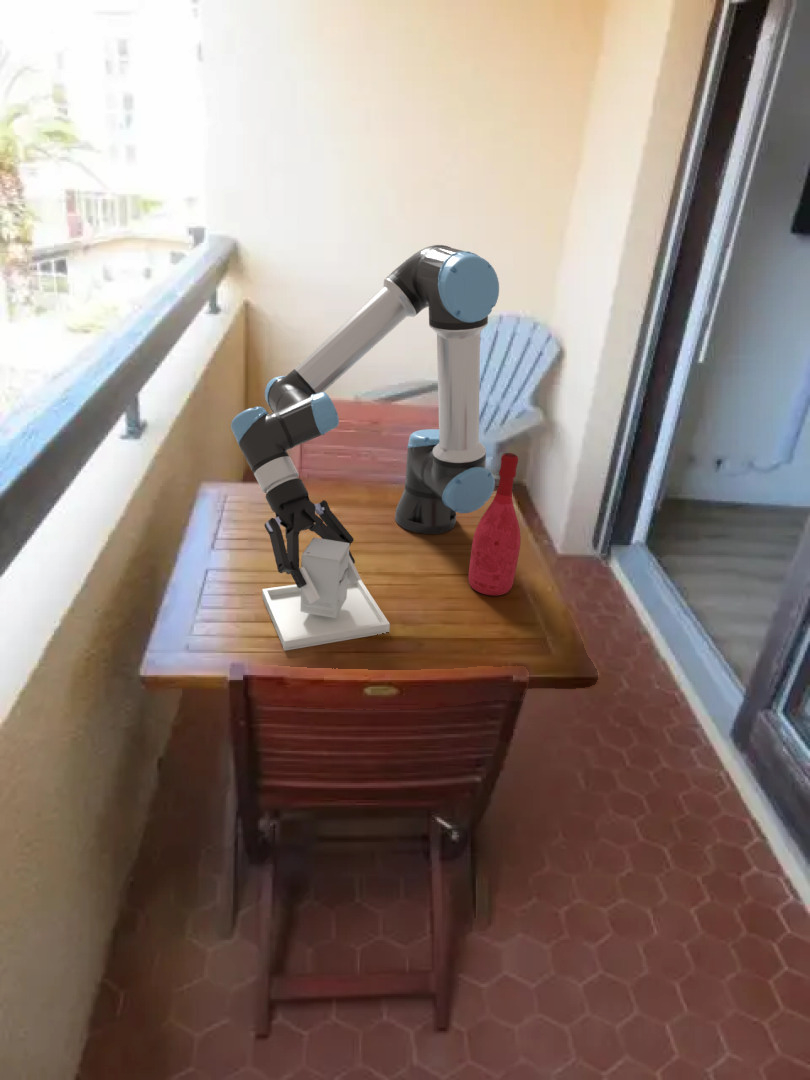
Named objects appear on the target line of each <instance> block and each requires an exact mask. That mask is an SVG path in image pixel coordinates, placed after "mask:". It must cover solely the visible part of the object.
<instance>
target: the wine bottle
mask: <svg viewBox="0 0 810 1080" xmlns="http://www.w3.org/2000/svg"><path fill="white" fill-rule="evenodd" d="M518 462H519V456H517V454H515V453H513V452H506V453H503V454H502V456H501V459H500V468H499V472H498V476H499V477H500V478H499V480H498V481H499V482H498V486H497V489H496V493H495V496H494V498H493V499H492V502H491V503H490V504H489V506H488V508H486V510H485V512H484V513H483V514H482V516H481V518H480V520H479V522H478V523H477V526H476V528H475V531H474V534H473V538H472V544H471V551H470V557H469V565H468V566H469V569H468V583H469V586H470V587H471V588H472V589H473V590H474V591H476V592H477V593H480V594H482V595H485V596H501V595H505V594H507V593H509V592H510V590H511V589H512V588H513V585H514V580H515V576H516V572H517V566H518V562H519V555H520V550H521V530H520V525H519V524H520V523H519V521H518V516H517V514H516V509H515V507H514V502H513V500H514V499H513V485H514V479H515V478H516V475H517V467H518Z"/></svg>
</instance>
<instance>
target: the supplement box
mask: <svg viewBox="0 0 810 1080" xmlns="http://www.w3.org/2000/svg"><path fill="white" fill-rule="evenodd" d="M349 545H350V543H346V542H340V541H334V540H327V539H322V538H321V537H313V538H312V539H311V540H310V542H309V544H308V545H307V546H306V548H305V549H304V551H303V552H302V553H301V566H300V568H301V567H303V566H304V567H305V569H306V571H307V573H308V575H309V577H310V579H311V581H312V583H313V585H314V587H315V589H316V591H317V593H318V595H319V597H320V599H318V600H316V601H315V602H313V603H311V604H310V603H309V601H308V599H307V598H306V596H305V594H304V592H303V590H302V588H301V610H300V611H301V612H305V613H310V614H315V615H320V616H326V617H331V618H337V616H338V614H339V611H340V609H341V607H342V606H343V604H344V602H345V600H346V599H347V583H348V565H349V550H350V546H351V545H350V546H349Z"/></svg>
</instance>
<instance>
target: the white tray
mask: <svg viewBox="0 0 810 1080" xmlns="http://www.w3.org/2000/svg"><path fill="white" fill-rule="evenodd" d="M261 590H262V591H261V593H262V594H261V595H262V601H263V602H264V605H265V608H266V610H267V612H268V614H269V617H270V619H271V622H272V624H273V626H274V628H275V631H276V634H277V636H278V638H279V641H280V643H281V645H282V648H283V650H284V651H290V650H295V649H302V648H307V647H308V648H309V647H314V646H319V645H325V644H330V643H337V642H343V641H348V640H353V639H359V638H366V637H371V636H376V635H377V634H378V635H383V634H382V633H384V634H387V633H386V632H389V633H390V627H391V625H390V622H389V620H388V619H387V617H386V616H385V614H384V613H383V611H382V610H381V608H380V607H379V605H378V604H377V602H376V600H375V599H374V597H373V596H372V595H371V593H370V592H369V590H368V588H367V586H366V585H365V583H364V582H363V581H362V578H361V579H360V580H359V581H357V582H356V583H354V584H352V585H351V583H350V582H349V580H348V583H347V599H346V600H345V602H344V604H343V606H342V607H341V609H340V611H339V614H338V616H337V618H331V617H326V616H320V615H315V614H310V613H305V612H301V611H300V610H301V588H298V587H297V585H296V583H295V584H290V585H289V584H288V585H284V586H274V587H269V588H268V587H267V588H262V589H261Z"/></svg>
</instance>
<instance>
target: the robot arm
mask: <svg viewBox="0 0 810 1080" xmlns="http://www.w3.org/2000/svg"><path fill="white" fill-rule="evenodd" d="M499 295H500V282H499V277H498V275H497V272H496V271H495V269H494V267H493V266H492V264H491V263H490V262H489V261H488V260H487V259H486V258H483V257H481V256H479V255H478V254H476V253H474V252H472V251H465V250H461V249H456V248H452V247H450V246H449V245H444V244H433V245H430V246H427V247H424V248H422V249H420V250H419V251H417V252H415V253H413V254H412V255H410V256H409V258H407V259H406V260H404V261H403V262H402V263H401V264H400V265H398V266H397V267H396V268H395V269H394V270H393V271H392V272H391V273H389V275H387V276H386V277H385V278H384V280H383V287H382V288H381V289H380V290H379V291H378V292H376V293H375V295H373V296H372V297H371V298H370V299H368V301H366V302H365V303H364V304H363V305H362V306H361V307H360V308H359V309H358V310H356V312H355V313H354V314H352V316H350V317H349V318H348V319H346V321H345V322H344V323H343V324H342V325H340V326H339V328H337V329H336V330H335V331H334V332H333V333H331V335H330V336H328V337H327V338H326V339H325V340H324V341H323V342H322V343H321V344H320V345H318V347H316V349H315V350H313V352H311V353H310V354H309V355H308V356H306V357H305V359H303V360H302V361H301V362H300V363H299V364H298V365H297V366H296V367H295V368H294V369H293V370H292V371H290V372H289V373H288V374H287V375H280V376H275V377H274V378H271V380H270V381H269V382H267V385H266V386H265V389H264V398H265V402H266V403H267V405H268V407H269V409H270V410H271V412H270V413H269V412H268V411H267V410H266V409H265V408H264V407H262V406H255V407H249V408H247V409H244V410H243V411H241V412H239V413H238V414H237V415H236V416H234V418H233V419H232V420H231V423H230V428H231V431H232V433H233V436H234V438H235V440H236V443H237V445H238V447H239V449H240V450H241V452H242V454H243V456H244V459H245V460H246V462H247V464H248V465H249V467H250V469H251V471H252V473H253V476H254V477H255V479H256V481H257V483H258V485H259V487H260V489H261V491H262V492H263V493H264V494H265V499H266V501H267V503H268V505H269V506H270V509H271V511H272V512H273V513H275V517H271V518H270V519H269V520H267V521H266V522H265V523H264V524H263V525H264V528H265V530H266V532H267V533H268V535H269V539H270V543H271V547H272V551H273V555H274V560H275V563H276V568H277V572H278V573H280V574H283V573H285V574H286V575H291V577H292V579H293V581H294V583H295V584H296V585H297V587H298V588H302V590H303V592H304V594H305V596H306V598H307V599H308V601H309V603H310V604H311V603H313V602H315V601H316V600H318V599H320V597H319V595H318V593H317V591H316V589H315V587H314V585H313V583H312V581H311V579H310V577H309V575H308V573H307V571H306V569H305V567H304V566H303V567H301V566H300V539H299V538H300V537H299V535H300V532H302V531H307V530H308V531H310V532H313V533H315V534H316V535H317V536H318V537H319V538H321V539H327V540H334V541H340V542H346V543H350V545H349V547H351V544H352V543H353V542H354V537H353V536H352V535H351V533H350V532H349V531H348V530H347V528H346V527H345V526H344V525H343V524H342V522H341V521H340V520H339V519H338V518H337V516H336V515H335V514H334V513H333V511H332V510H331V508H330V506H329V503H328V501H326V499H324V500H323V499H322V501H320V502H319V503H318V502H317V503H314V502H312V501H311V499H310V496H309V491H308V490H307V487H306V486H305V484H304V482H303V480H302V479H301V478H300V477H299V475H300V474H299V472H298V470H297V468H296V466H295V465H294V462H293V460H292V459H291V457H290V455H289V453H288V452H287V451H288V450H291V449H293V448H295V447H297V446H299V445H302V444H305V443H306V442H309V441H311V440H313V439H316V438H318V437H321V436H324V435H325V434H326V433H329V432H330V431H331V430H334V429H336V428H337V427H338V426H339V423H340V417H339V414H338V411H337V408H336V406H335V404H334V401H332V398H331V397H330V396H329V395H328V394H327V392H325V391H326V390H327V389H329V388H330V387H331V386H332V385H333V384H334V383H335V382H337V381H338V380H339V379H340V378H341V377H342V376H343V375H344V374H345V373H346V372H348V370H349V369H351V368H352V367H353V366H355V364H356V363H358V362H359V361H360V360H361V359H362V358H363V357H364V356H365V355H366V354H367V353H368V352H370V351H371V349H373V348H374V347H375V346H376V345H378V344H379V343H380V342H381V341H382V340H383V339H384V338H385V337H387V336H388V334H390V333H391V332H392V331H393V330H394V329H395V328H396V327H397V326H399V324H401V322H403V321H404V320H405V319H406V318H407V317H413V318H414V317H416V316H417V315H418V314H419V313H420V312H421V311H422V310H424V309H426V308H428V325H429V327H430V328H431V330H432V331H434V332H435V333H436V343H437V344H436V349H437V350H436V351H437V355H436V356H437V392H438V396H437V397H438V399H437V400H438V403H437V404H438V428H437V429H436V428H433V429H432V428H430V429H429V428H428V429H420V430H416V431H413V432H412V433H411V434H410V435H409V438H408V444H407V447H406V448H407V454H406V455H407V456H406V465H405V466H406V469H405V479H404V480H405V483H404V489H403V492H402V495H401V497H400V498H399V501H398V504H397V506H396V508H395V514H394V521H395V523H396V524H398V526H400V527H401V528H403V529H404V530H407V531H409V532H413V533H416V534H422V535H423V534H424V535H438V534H444V533H447V532H450V531H451V530H452V529H454V528H455V526H456V522H457V513H458V514H469V513H472V512H473V513H474V512H475V511H477V510H479V509H480V508H483V506H484V505H485V504H486V502H488V501H489V500H490V499H491V497H492V495H493V492H494V490H495V483H496V482H495V477H494V475H493V473H492V472H491V470H490V469H488V468H487V466H486V465H487V464H486V463H487V461H486V460H487V456H486V455H487V451H486V447H485V445H483V444H482V443H481V442H480V376H481V375H480V374H481V373H480V371H481V370H480V369H481V367H480V362H481V360H480V357H481V355H480V352H481V341H480V340H481V333H482V331H483V330H484V329H485V327H487V326H488V323H489V321H488V320H489V319H488V318H489V315H490V314H491V313H492V311H493V308H494V307H496V304H497V303H498V300H499ZM281 527H283V528H285V530H284V531H285V532H284V533H285V539H286V545H285V539H284V535H283V532H282V528H281ZM355 563H356V560H355V558H354V557H353V554H352V552H351V550H350V549H349V565H348V580H349V582H350V583H351V585H352V584H354V583H356V582H357V581H359V580H360V579H361V580H362V578H361V576H360V573H359V572H358V569H357V568H356V566H355Z"/></svg>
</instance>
